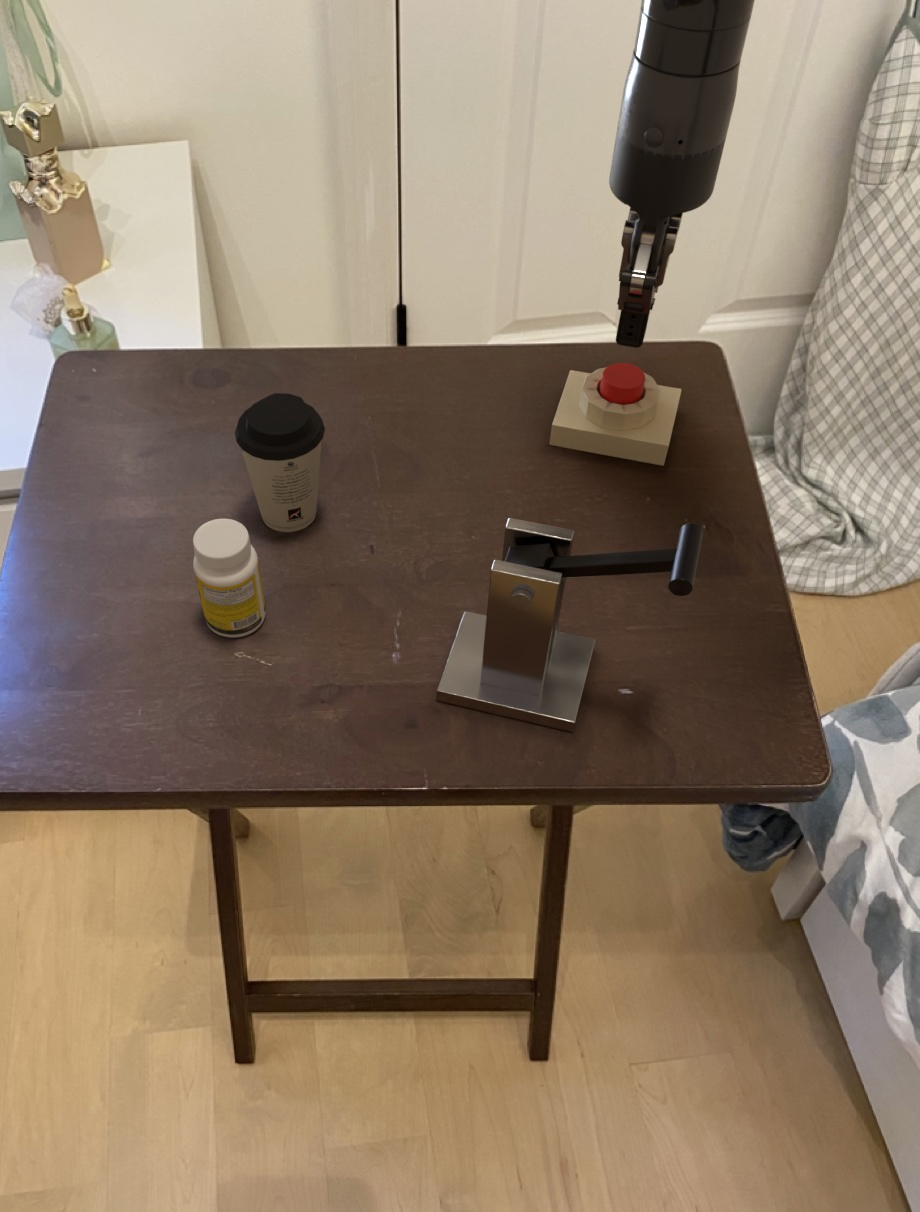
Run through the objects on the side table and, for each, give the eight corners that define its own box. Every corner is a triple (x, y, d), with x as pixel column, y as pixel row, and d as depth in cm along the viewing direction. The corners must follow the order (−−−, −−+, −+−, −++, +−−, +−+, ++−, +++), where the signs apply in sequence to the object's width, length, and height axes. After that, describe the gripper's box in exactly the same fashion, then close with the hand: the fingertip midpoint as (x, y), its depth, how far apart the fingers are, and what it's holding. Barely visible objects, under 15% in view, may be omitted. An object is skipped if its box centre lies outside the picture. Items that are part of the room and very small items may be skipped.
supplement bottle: (220, 587, 85) (204, 507, 79) (275, 601, 84) (264, 521, 78) (195, 631, 83) (176, 552, 76) (252, 646, 82) (238, 567, 75)
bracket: (593, 649, 81) (621, 523, 71) (572, 732, 77) (599, 610, 66) (464, 621, 83) (473, 494, 73) (436, 700, 78) (441, 577, 68)
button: (644, 383, 94) (648, 366, 93) (638, 409, 92) (641, 392, 91) (603, 376, 95) (606, 359, 93) (596, 401, 93) (599, 384, 91)
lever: (706, 545, 68) (700, 515, 67) (695, 601, 65) (689, 572, 64) (523, 558, 74) (514, 531, 72) (506, 610, 71) (496, 584, 69)
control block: (676, 409, 98) (686, 371, 94) (663, 466, 93) (673, 428, 90) (567, 390, 99) (572, 352, 96) (549, 445, 95) (554, 407, 92)
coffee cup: (316, 549, 88) (308, 451, 80) (235, 534, 89) (219, 436, 81) (340, 492, 92) (334, 393, 84) (262, 478, 93) (249, 380, 85)
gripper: (716, 178, 71) (663, 398, 85) (738, 88, 78) (686, 303, 92) (602, 162, 72) (568, 381, 86) (634, 75, 80) (598, 289, 94)
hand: (629, 340), depth 89 cm, fingers closed
